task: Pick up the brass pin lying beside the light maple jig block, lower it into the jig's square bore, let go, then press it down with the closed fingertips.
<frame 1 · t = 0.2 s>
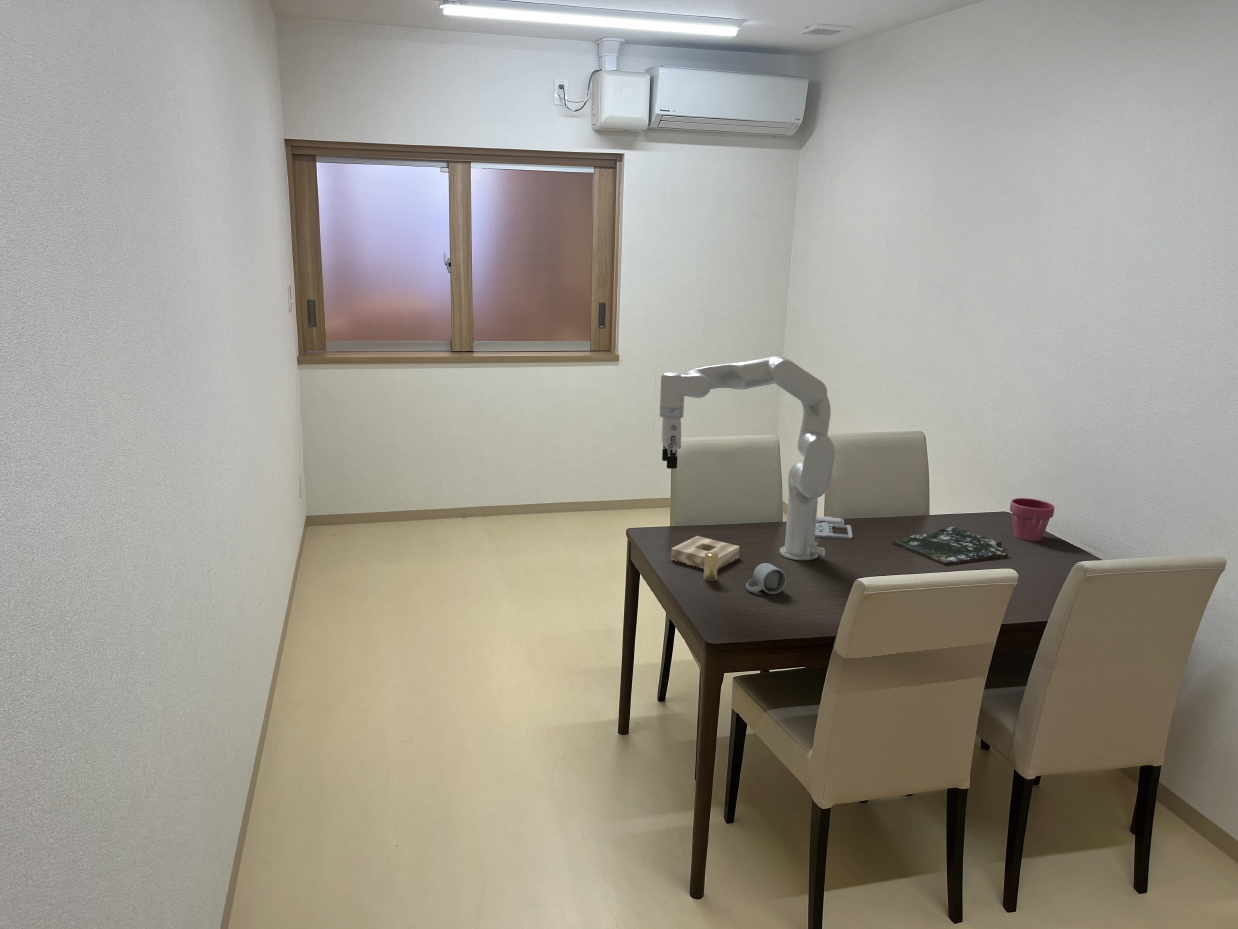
hand: (669, 464, 274), 31 cm above the table, tool pointing down, fingers open, 9 cm apart
ceramic mug: (764, 590, 256), on the table
topographical map: (955, 551, 295), on the table
maple jig: (705, 558, 279), on the table
plant pot: (1027, 537, 309), on the table
brass pin: (710, 578, 263), on the table
office telephone: (822, 529, 314), on the table
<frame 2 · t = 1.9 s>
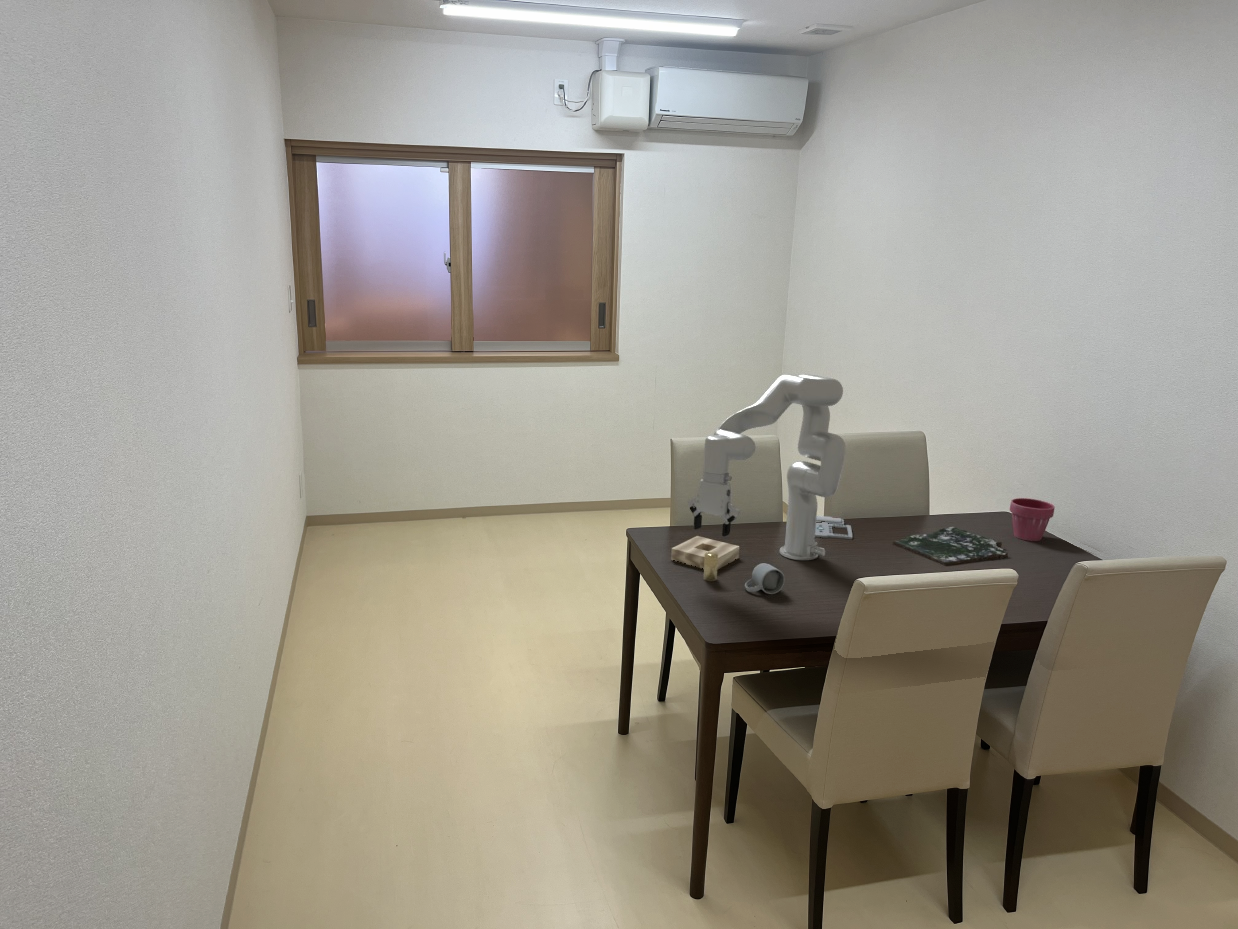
hand: (711, 531, 259), 15 cm above the table, tool pointing down, fingers open, 9 cm apart
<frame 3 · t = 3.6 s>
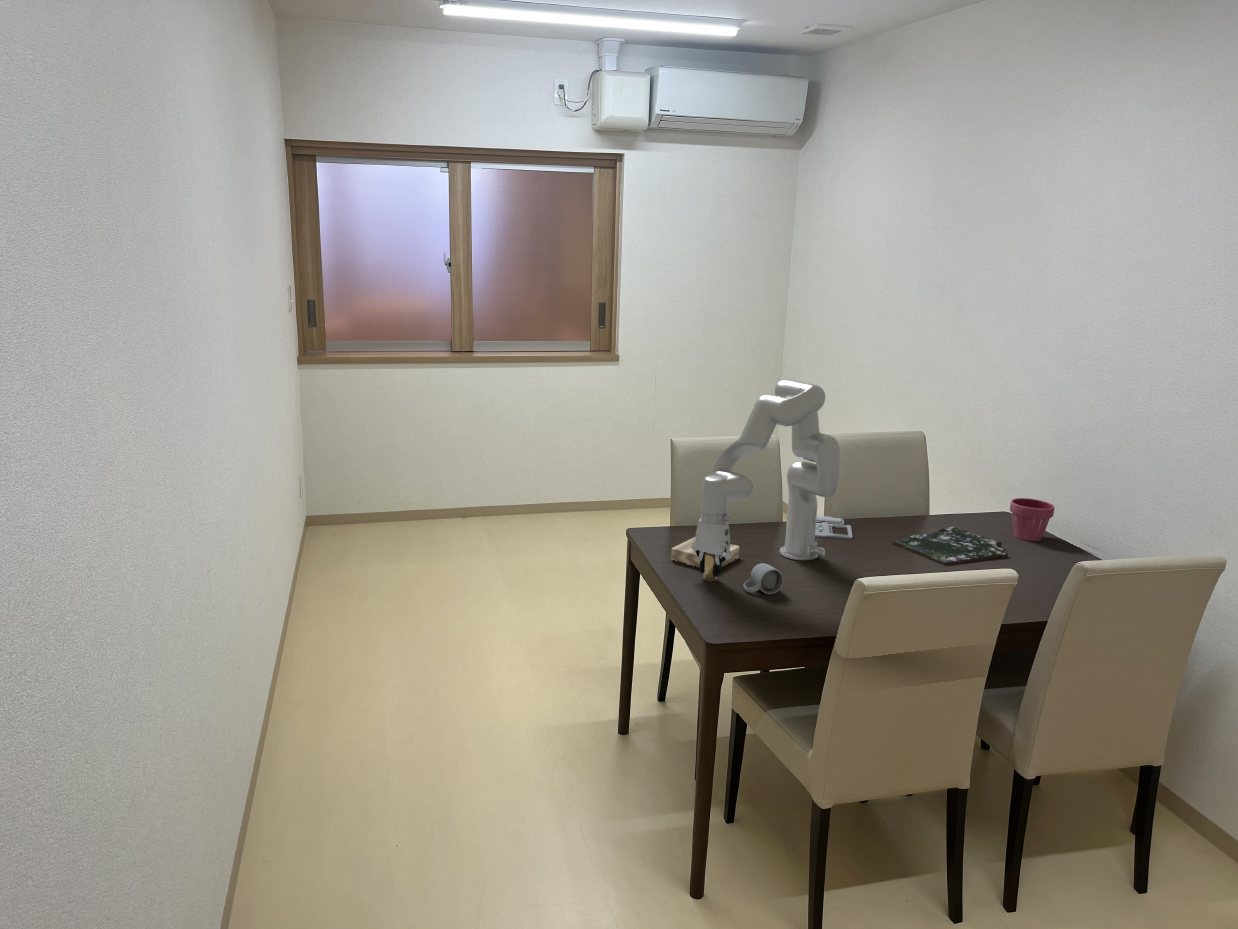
hand: (710, 573, 262), 2 cm above the table, tool pointing down, fingers closed on brass pin, 4 cm apart
brass pin: (710, 578, 263), on the table, touching gripper
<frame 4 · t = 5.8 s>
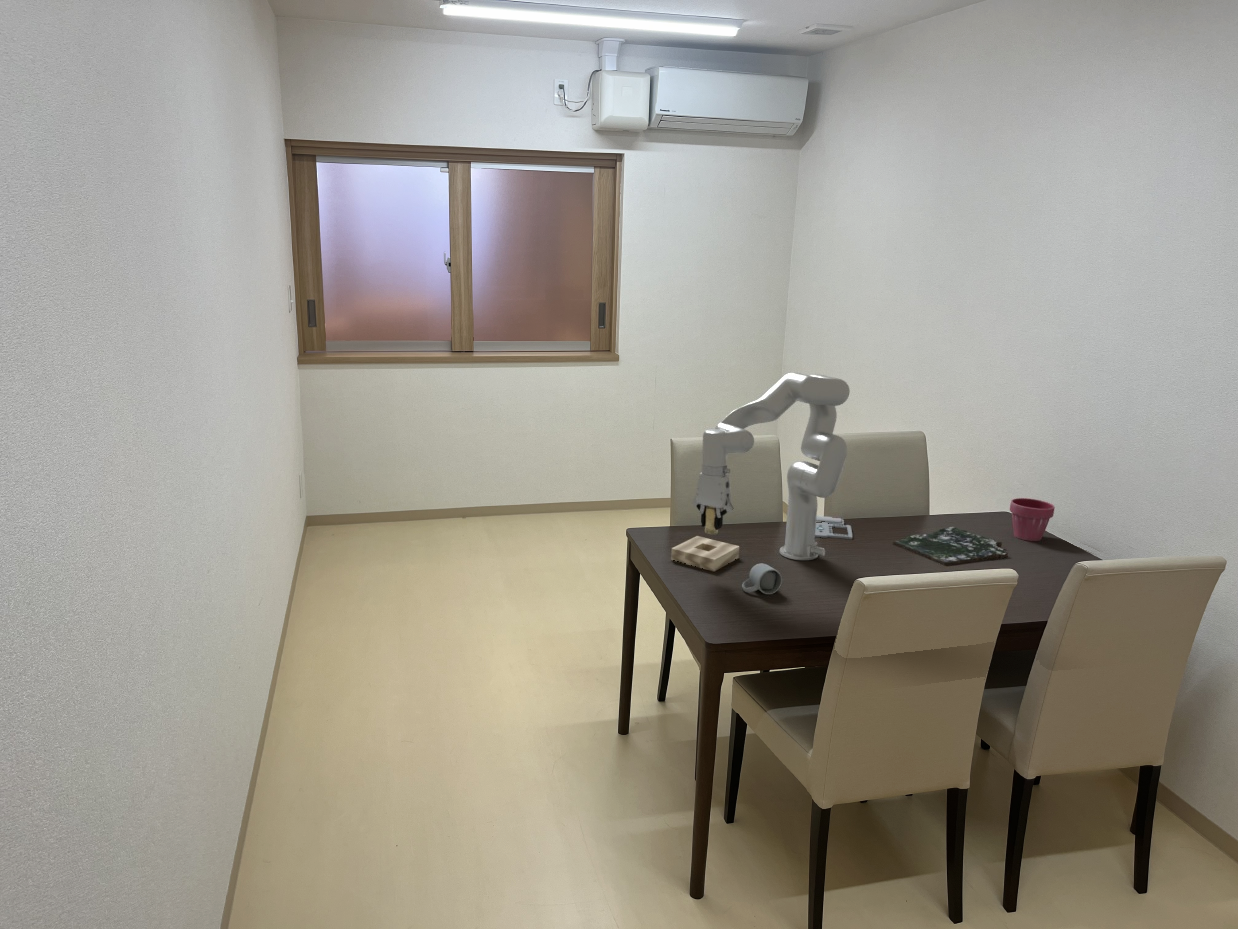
hand: (711, 526, 265), 15 cm above the table, tool pointing down, fingers closed on brass pin, 4 cm apart
brass pin: (711, 532, 265), point 13 cm above the table, touching gripper
when the fingers open (5 cm above the table, at t = 8.3 s): brass pin drops 3 cm, resting in maple jig.
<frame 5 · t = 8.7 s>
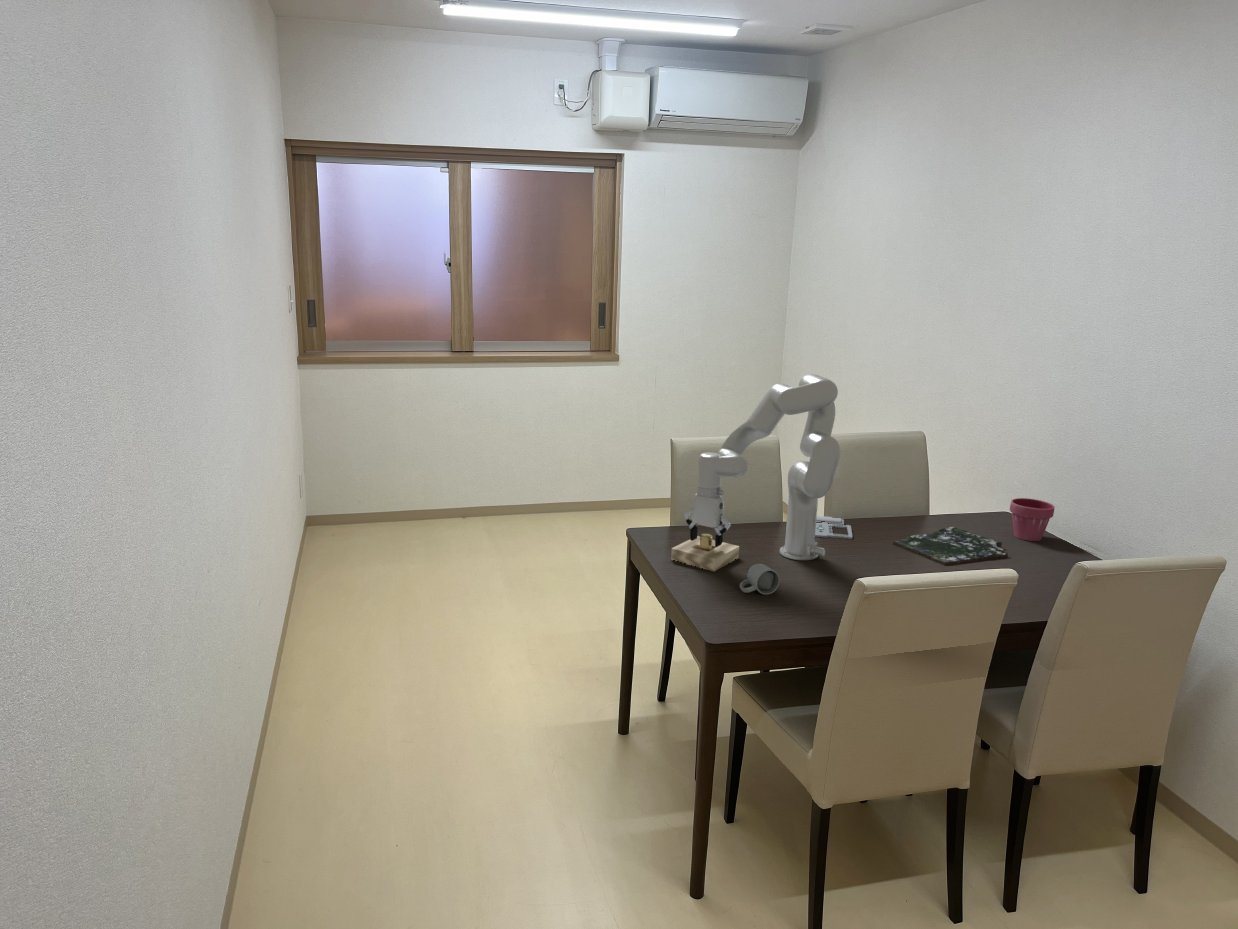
hand: (705, 542, 278), 6 cm above the table, tool pointing down, fingers open, 8 cm apart
brass pin: (705, 559, 279), resting in maple jig
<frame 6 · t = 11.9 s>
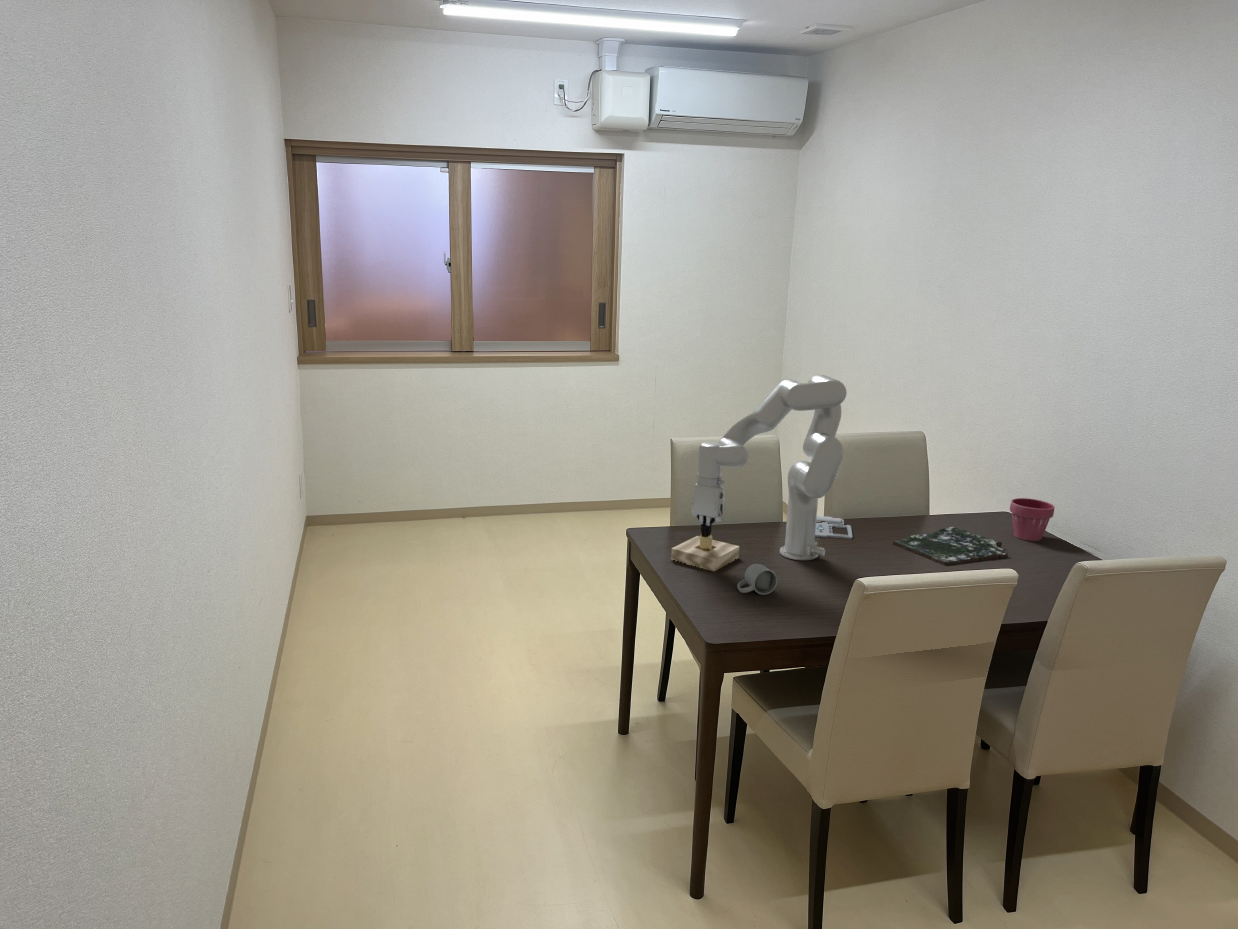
hand: (705, 535, 277), 8 cm above the table, tool pointing down, fingers closed
brass pin: (705, 559, 279), resting in maple jig, touching gripper
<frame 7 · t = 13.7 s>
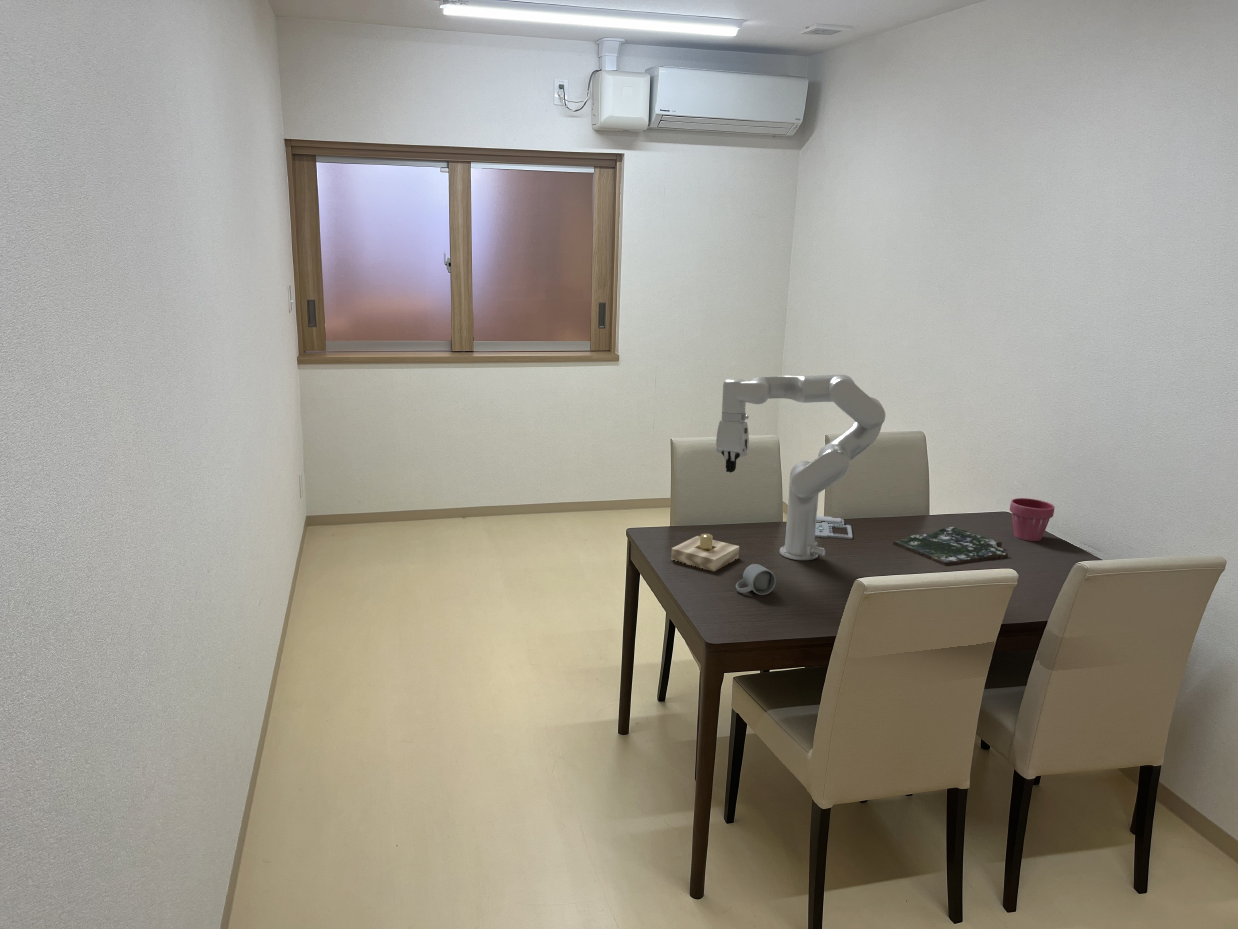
hand: (730, 471, 283), 27 cm above the table, tool pointing down, fingers closed
brass pin: (705, 559, 279), resting in maple jig
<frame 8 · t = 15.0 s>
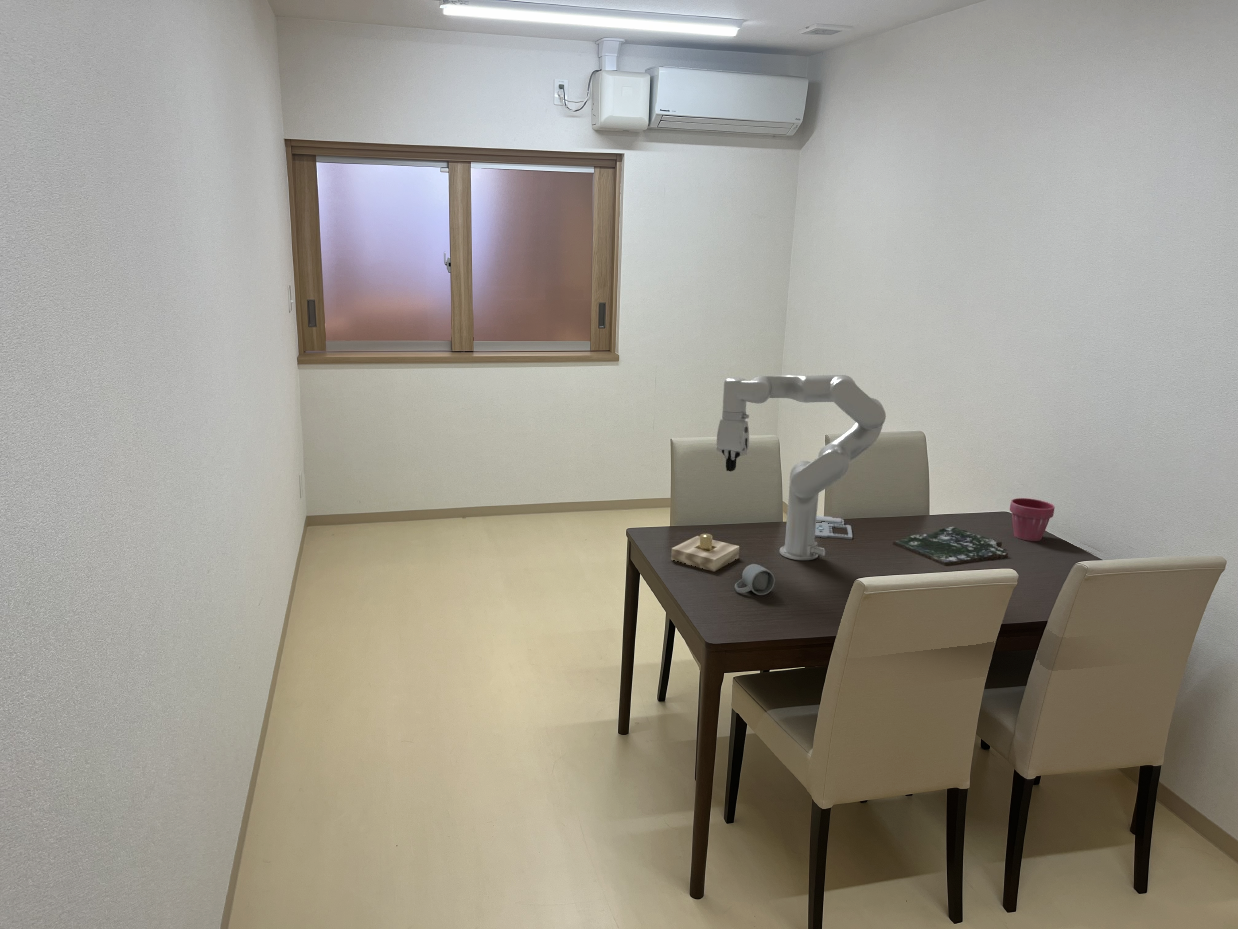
hand: (730, 470, 284), 27 cm above the table, tool pointing down, fingers closed
at the end: brass pin 0.0 cm off-centre on the maple jig, point 0.0 cm above the maple jig's base; brass pin tilted 1°; the gripper is holding nothing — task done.
